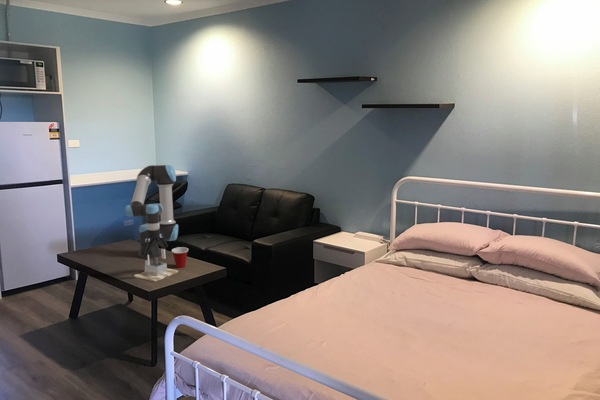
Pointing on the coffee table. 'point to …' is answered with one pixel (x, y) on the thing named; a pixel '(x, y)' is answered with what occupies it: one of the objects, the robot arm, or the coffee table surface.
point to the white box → (156, 269)
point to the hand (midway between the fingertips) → (155, 261)
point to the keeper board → (153, 277)
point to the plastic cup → (180, 256)
